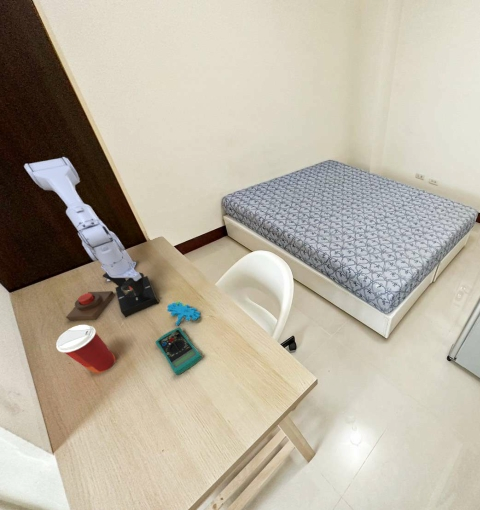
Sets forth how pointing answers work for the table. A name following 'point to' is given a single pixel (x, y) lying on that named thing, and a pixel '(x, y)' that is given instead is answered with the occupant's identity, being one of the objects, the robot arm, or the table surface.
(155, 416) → the table surface
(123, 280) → the robot arm
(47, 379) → the table surface
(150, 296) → the dial panel
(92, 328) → the paper cup
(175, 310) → the blue toy tree
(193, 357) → the digital multimeter
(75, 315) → the button block
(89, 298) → the button
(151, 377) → the table surface
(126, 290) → the dial
